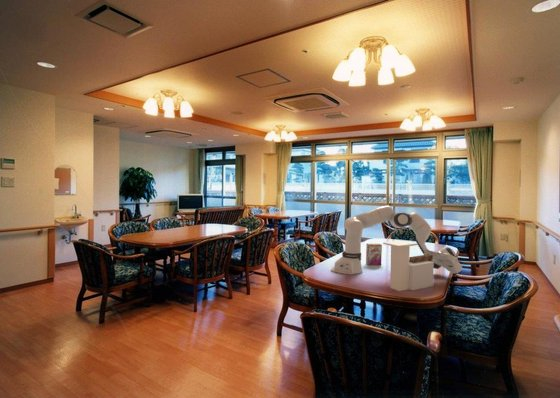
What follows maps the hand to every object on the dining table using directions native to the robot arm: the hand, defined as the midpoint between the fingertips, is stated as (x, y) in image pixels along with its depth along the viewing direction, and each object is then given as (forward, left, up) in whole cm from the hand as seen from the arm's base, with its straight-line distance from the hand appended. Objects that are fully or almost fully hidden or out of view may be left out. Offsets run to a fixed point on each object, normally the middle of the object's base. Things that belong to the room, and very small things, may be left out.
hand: (432, 251), depth 207 cm
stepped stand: (-14, -17, -20) cm, 30 cm away
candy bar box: (-40, +33, -20) cm, 56 cm away
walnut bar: (-7, -8, -5) cm, 12 cm away
